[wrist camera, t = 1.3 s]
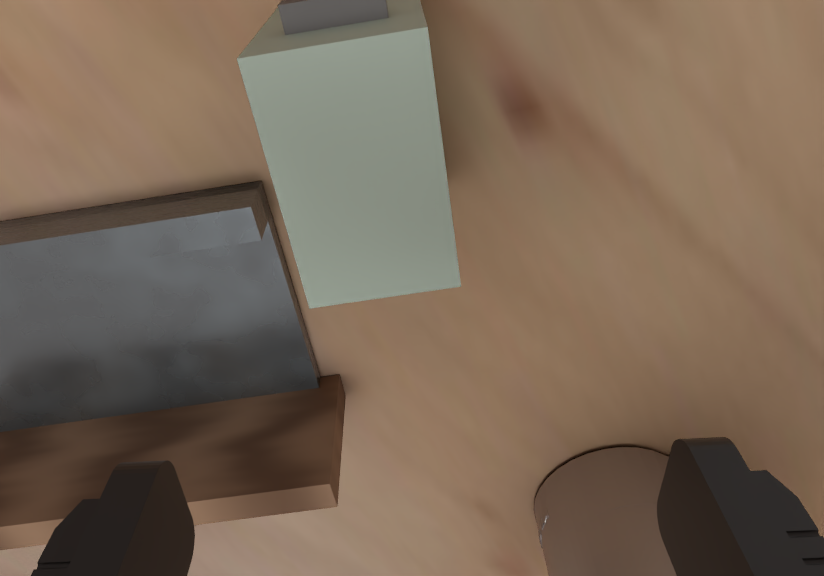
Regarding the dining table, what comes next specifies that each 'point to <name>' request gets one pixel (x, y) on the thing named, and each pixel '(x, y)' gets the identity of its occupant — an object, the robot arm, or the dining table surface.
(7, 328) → the dark grey flat slab
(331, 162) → the cabinet
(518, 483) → the dining table surface
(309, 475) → the wall board
